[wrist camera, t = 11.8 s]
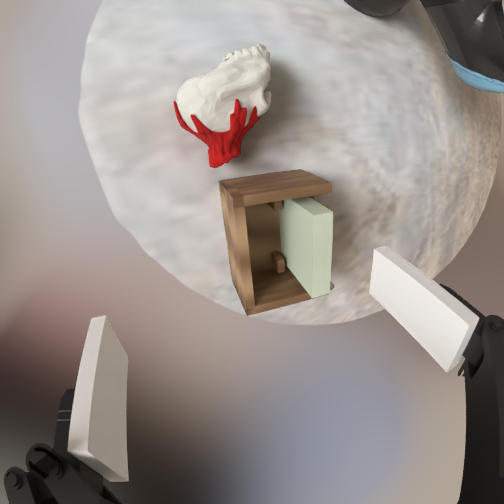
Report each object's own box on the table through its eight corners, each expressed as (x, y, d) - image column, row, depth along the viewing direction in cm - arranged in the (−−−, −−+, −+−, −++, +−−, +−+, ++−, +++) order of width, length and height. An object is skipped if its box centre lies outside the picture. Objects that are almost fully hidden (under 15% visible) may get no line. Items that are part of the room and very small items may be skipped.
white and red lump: (255, 49, 31) (260, 152, 39) (168, 56, 28) (180, 163, 37) (281, 41, 23) (284, 170, 32) (169, 46, 21) (185, 185, 30)
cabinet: (218, 180, 38) (232, 197, 30) (307, 168, 41) (340, 182, 33) (232, 281, 45) (246, 315, 38) (309, 263, 48) (335, 291, 40)
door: (296, 255, 45) (329, 293, 36) (281, 259, 45) (312, 298, 35) (294, 188, 40) (333, 211, 31) (277, 190, 40) (313, 215, 30)
